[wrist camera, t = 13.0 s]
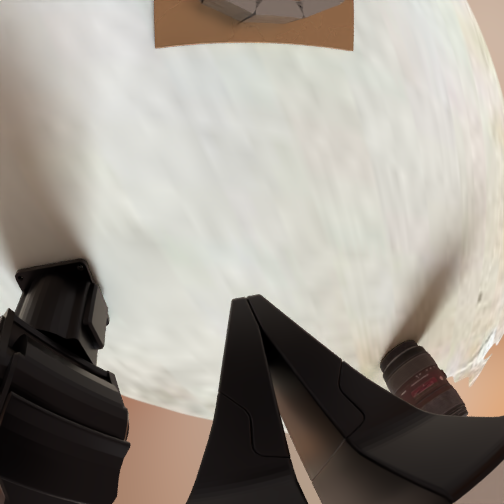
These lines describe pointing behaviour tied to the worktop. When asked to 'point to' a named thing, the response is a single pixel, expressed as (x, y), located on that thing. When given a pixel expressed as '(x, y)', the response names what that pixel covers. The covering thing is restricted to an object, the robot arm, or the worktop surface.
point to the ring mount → (255, 22)
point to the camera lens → (420, 380)
